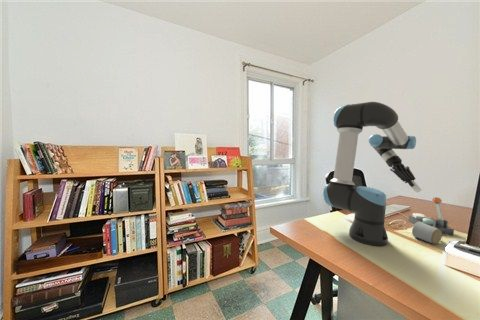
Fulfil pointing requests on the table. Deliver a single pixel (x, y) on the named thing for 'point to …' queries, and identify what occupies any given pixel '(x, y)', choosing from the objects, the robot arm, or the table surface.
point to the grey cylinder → (426, 233)
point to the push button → (428, 221)
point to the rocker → (418, 216)
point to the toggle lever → (438, 207)
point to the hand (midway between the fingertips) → (418, 191)
